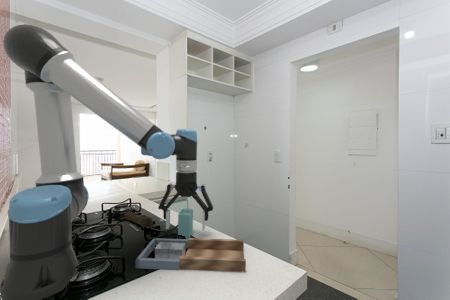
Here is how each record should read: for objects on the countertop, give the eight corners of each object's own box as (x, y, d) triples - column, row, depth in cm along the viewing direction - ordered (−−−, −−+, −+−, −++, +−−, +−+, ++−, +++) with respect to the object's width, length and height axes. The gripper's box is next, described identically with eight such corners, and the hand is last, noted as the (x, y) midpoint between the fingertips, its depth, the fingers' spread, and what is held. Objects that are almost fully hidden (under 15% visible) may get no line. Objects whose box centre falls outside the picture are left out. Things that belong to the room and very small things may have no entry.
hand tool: (123, 220, 96) (123, 210, 96) (132, 218, 99) (131, 208, 99) (146, 232, 84) (146, 221, 84) (155, 229, 87) (155, 218, 87)
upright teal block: (177, 242, 76) (178, 214, 75) (182, 233, 83) (182, 208, 82) (189, 242, 76) (189, 215, 75) (192, 234, 83) (193, 208, 82)
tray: (135, 272, 58) (135, 259, 58) (153, 248, 71) (153, 238, 71) (178, 274, 58) (179, 261, 57) (189, 249, 71) (189, 239, 70)
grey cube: (154, 261, 62) (154, 248, 62) (159, 254, 66) (159, 242, 66) (168, 262, 62) (168, 249, 62) (172, 255, 66) (172, 242, 66)
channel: (179, 273, 58) (179, 258, 58) (188, 250, 70) (188, 237, 70) (245, 276, 57) (245, 261, 57) (243, 252, 70) (243, 239, 69)
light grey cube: (168, 262, 62) (168, 249, 62) (172, 255, 66) (172, 242, 66) (182, 263, 62) (182, 249, 62) (185, 255, 66) (185, 243, 66)
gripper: (149, 172, 75) (149, 231, 76) (219, 173, 74) (218, 233, 75) (156, 169, 82) (156, 223, 83) (220, 170, 82) (219, 225, 82)
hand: (185, 228), depth 79 cm, fingers open, 13 cm apart
